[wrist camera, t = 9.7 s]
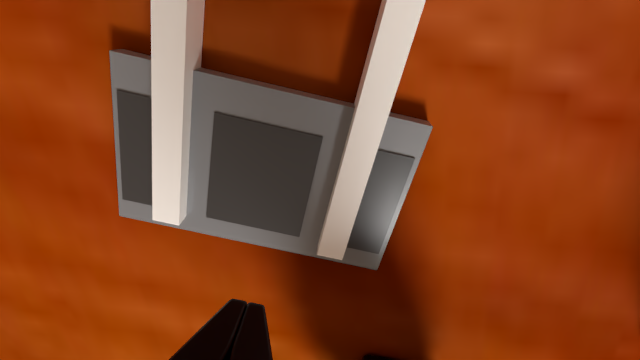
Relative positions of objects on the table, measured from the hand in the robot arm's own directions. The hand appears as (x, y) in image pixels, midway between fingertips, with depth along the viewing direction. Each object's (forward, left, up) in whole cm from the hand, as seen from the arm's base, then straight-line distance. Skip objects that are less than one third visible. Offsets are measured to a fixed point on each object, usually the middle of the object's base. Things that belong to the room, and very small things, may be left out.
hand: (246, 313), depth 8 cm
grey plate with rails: (+2, -4, -11) cm, 12 cm away
